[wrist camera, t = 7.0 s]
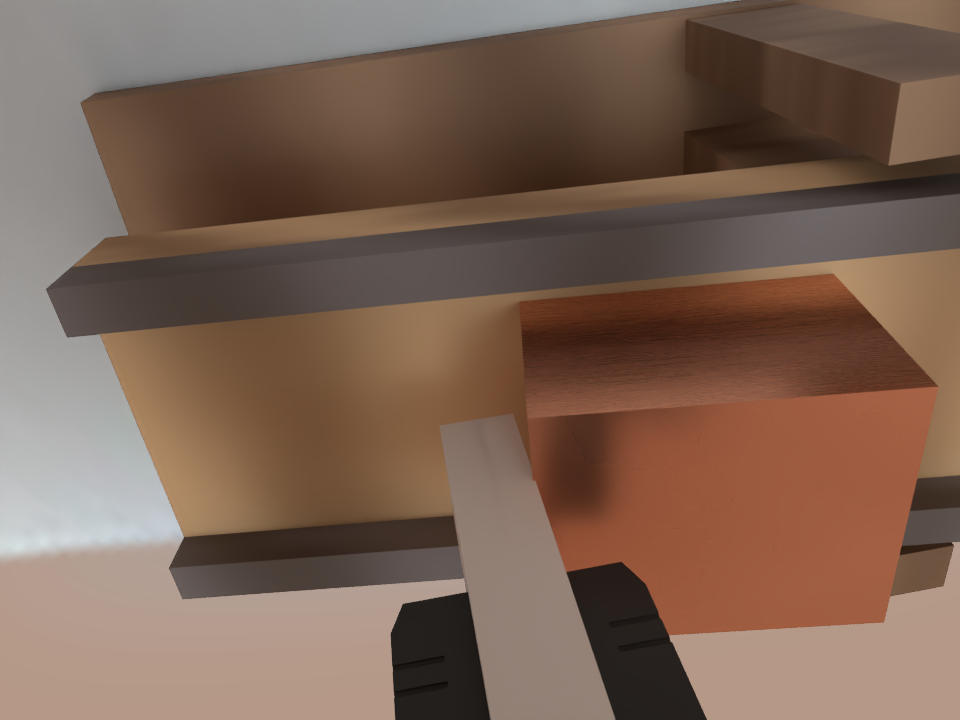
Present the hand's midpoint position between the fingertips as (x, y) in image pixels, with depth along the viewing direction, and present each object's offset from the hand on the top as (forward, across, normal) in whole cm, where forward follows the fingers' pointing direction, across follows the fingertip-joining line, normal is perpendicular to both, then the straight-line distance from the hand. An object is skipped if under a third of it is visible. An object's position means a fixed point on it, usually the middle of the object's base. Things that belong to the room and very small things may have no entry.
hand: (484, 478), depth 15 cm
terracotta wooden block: (+2, +4, 0) cm, 4 cm away
